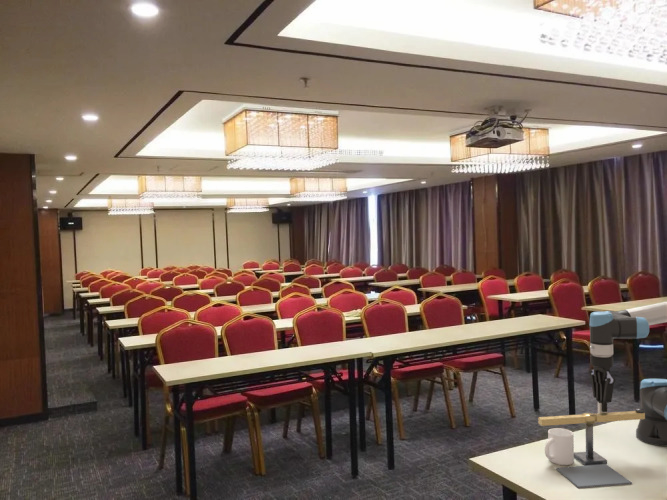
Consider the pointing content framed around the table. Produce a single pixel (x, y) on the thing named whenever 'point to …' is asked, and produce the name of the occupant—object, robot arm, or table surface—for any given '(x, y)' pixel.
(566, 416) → the lever
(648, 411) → the robot arm
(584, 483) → the felt mat
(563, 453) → the mug
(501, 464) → the table surface
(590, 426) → the lever post
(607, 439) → the table surface
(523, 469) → the table surface
